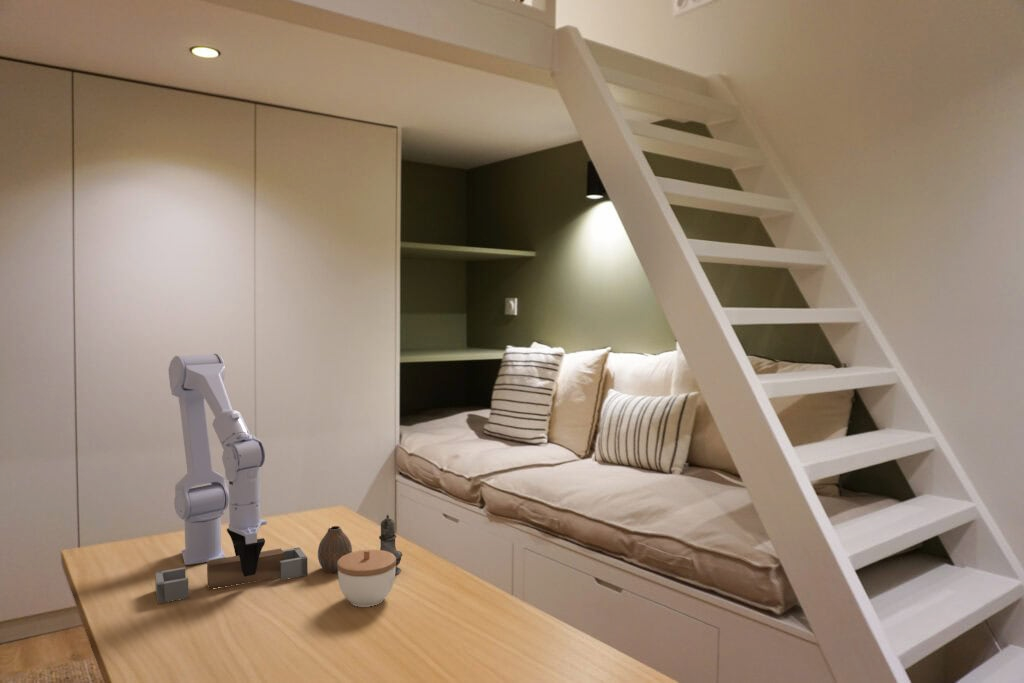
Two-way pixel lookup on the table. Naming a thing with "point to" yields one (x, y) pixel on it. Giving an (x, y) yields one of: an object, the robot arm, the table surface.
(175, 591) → the gray u-shaped clamp
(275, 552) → the slat
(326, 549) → the vase
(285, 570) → the cap far
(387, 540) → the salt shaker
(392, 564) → the lidded jar
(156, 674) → the table surface
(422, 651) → the table surface
